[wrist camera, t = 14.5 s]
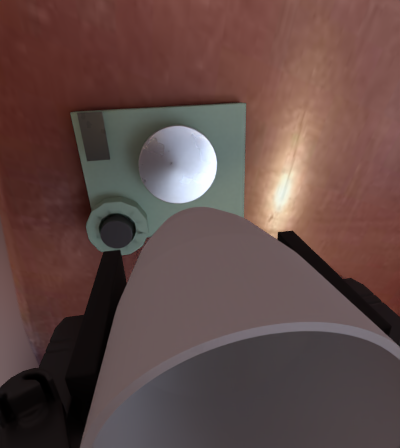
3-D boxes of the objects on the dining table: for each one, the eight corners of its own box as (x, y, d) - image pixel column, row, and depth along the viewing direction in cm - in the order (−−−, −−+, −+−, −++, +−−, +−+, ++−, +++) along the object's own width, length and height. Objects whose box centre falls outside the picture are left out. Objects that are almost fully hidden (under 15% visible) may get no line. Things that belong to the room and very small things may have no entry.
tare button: (105, 243, 29) (103, 250, 28) (99, 216, 28) (97, 222, 27) (135, 239, 30) (134, 247, 28) (131, 213, 28) (130, 219, 27)
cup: (211, 326, 18) (270, 556, 9) (92, 270, 15) (6, 527, 6) (297, 228, 16) (483, 399, 7) (179, 143, 13) (240, 247, 4)
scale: (98, 243, 32) (93, 258, 29) (70, 111, 27) (59, 113, 24) (238, 227, 34) (247, 241, 31) (240, 102, 29) (251, 103, 26)
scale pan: (97, 209, 27) (96, 212, 27) (77, 112, 24) (75, 113, 23) (216, 197, 29) (218, 200, 28) (214, 105, 25) (216, 105, 24)
